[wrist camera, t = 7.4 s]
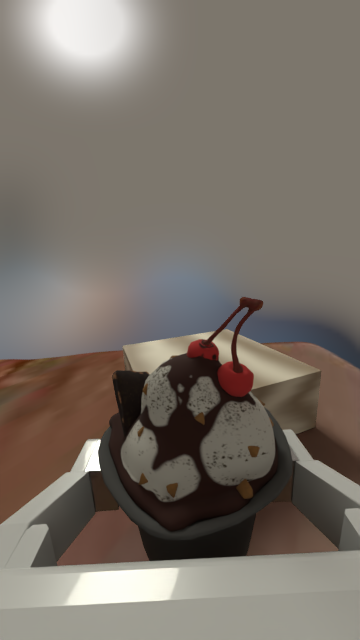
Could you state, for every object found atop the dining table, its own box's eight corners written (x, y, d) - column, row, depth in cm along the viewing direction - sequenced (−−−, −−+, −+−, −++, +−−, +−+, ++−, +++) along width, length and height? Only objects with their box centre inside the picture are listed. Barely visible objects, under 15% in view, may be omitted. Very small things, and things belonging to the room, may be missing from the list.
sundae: (310, 660, 10) (364, 299, 6) (159, 847, 7) (96, 348, 3) (214, 513, 15) (214, 285, 12) (111, 578, 12) (70, 297, 9)
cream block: (158, 486, 17) (152, 416, 16) (127, 386, 32) (122, 345, 30) (315, 426, 23) (321, 370, 21) (227, 365, 37) (227, 329, 36)
